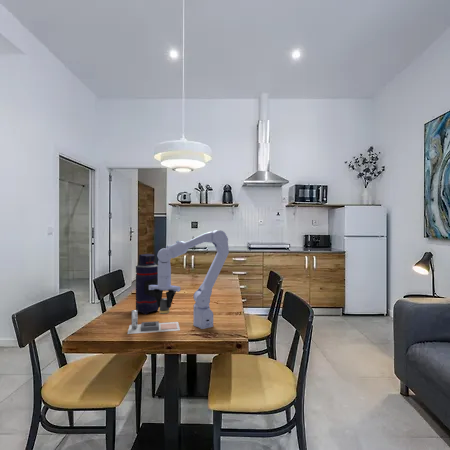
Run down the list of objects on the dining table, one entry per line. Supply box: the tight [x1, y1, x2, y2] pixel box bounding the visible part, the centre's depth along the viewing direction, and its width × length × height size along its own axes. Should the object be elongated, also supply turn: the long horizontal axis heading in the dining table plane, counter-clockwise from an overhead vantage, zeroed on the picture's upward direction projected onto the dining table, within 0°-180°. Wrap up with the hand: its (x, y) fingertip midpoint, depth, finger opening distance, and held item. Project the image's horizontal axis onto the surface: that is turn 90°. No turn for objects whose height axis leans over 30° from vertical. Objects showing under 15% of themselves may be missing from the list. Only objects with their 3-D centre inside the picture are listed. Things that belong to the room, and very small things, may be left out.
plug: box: [158, 297, 171, 315], centre depth 139 cm, size 4×4×6 cm
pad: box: [161, 323, 177, 330], centre depth 139 cm, size 7×7×1 cm
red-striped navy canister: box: [135, 253, 160, 315], centre depth 168 cm, size 14×12×30 cm
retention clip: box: [131, 309, 139, 329], centre depth 131 cm, size 13×2×8 cm, turn 17°
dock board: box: [127, 320, 181, 335], centre depth 138 cm, size 22×12×2 cm, turn 103°
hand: (164, 307), depth 139 cm, fingers closed on plug, 4 cm apart
